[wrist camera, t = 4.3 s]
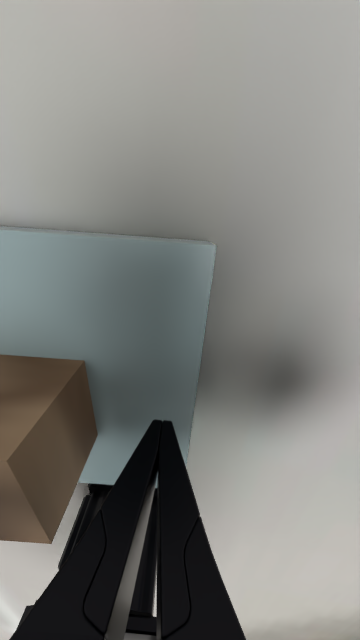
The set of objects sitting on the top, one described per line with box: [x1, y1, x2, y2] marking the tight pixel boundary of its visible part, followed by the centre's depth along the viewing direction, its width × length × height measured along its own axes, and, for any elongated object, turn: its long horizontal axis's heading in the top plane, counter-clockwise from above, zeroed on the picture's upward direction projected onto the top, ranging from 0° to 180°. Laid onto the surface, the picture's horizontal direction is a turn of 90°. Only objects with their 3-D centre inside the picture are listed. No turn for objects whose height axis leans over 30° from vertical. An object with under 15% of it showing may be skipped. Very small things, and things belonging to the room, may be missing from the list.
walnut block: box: [0, 354, 98, 544], centre depth 8 cm, size 5×5×4 cm
